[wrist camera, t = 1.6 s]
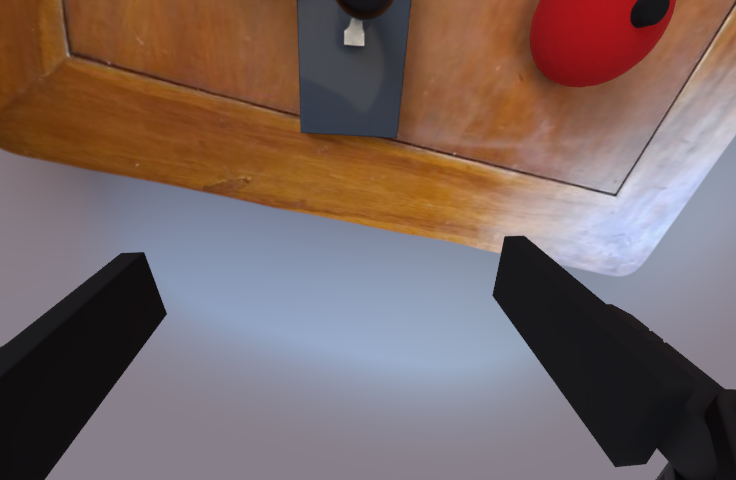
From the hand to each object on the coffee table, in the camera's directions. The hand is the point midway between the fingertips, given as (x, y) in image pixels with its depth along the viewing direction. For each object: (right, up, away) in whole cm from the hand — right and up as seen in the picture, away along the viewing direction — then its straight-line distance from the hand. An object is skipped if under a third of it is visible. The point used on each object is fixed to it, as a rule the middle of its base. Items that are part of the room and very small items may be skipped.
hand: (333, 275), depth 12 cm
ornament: (+18, +20, +17) cm, 32 cm away
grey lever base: (0, +20, +15) cm, 25 cm away
